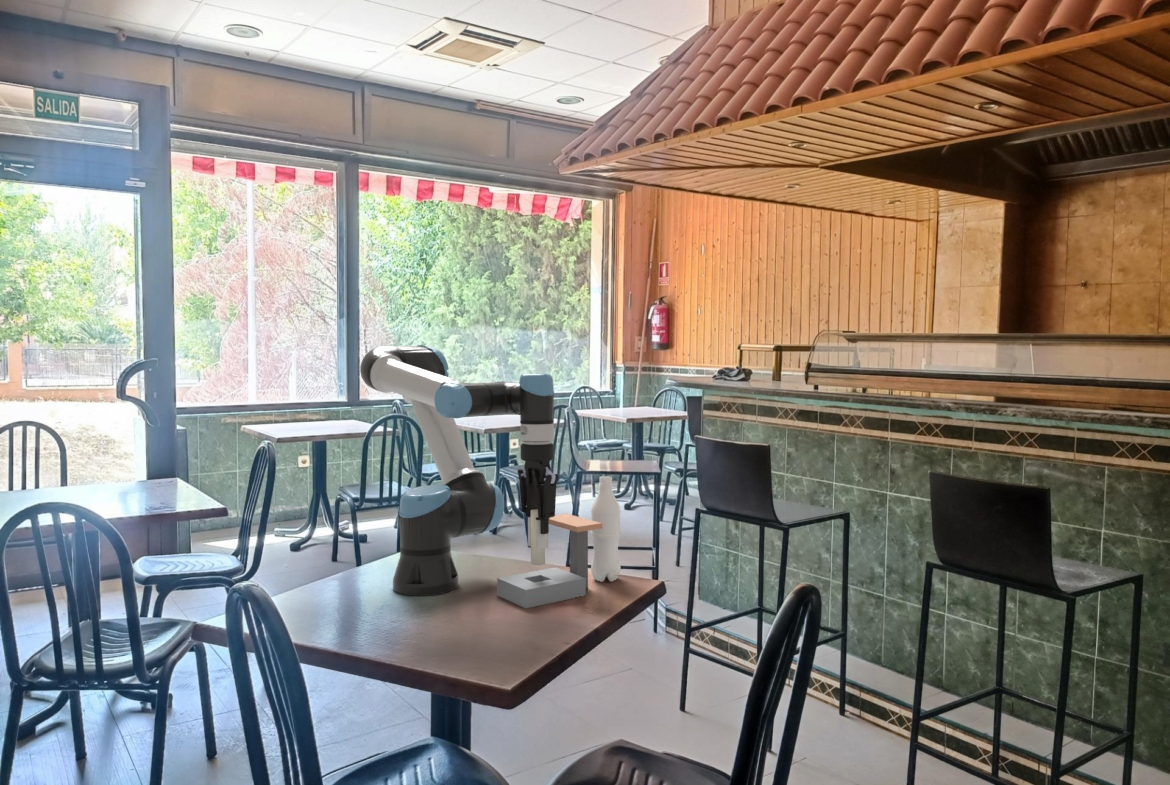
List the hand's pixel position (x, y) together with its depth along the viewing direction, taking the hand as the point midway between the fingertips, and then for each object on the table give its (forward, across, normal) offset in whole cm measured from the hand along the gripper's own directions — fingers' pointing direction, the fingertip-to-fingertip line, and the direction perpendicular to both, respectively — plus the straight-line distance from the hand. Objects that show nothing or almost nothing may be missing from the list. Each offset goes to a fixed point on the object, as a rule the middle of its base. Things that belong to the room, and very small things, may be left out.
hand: (538, 546), depth 183 cm
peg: (+4, 0, 0) cm, 4 cm away
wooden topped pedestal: (+11, 0, +10) cm, 15 cm away
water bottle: (+12, -2, +21) cm, 24 cm away
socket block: (+11, 0, +1) cm, 11 cm away
